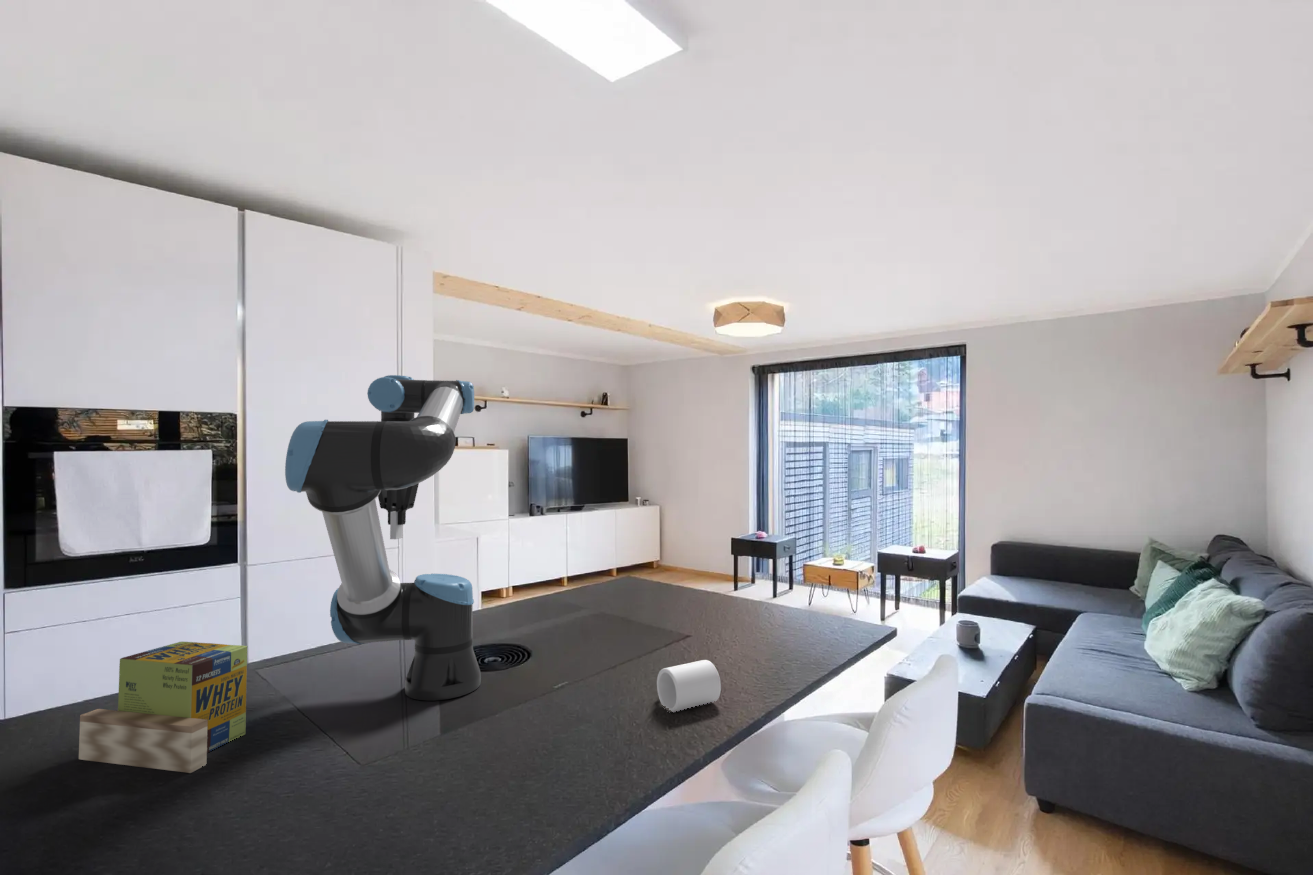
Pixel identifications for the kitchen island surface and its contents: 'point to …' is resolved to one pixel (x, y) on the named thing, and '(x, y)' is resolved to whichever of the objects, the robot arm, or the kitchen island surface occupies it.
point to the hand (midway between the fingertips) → (396, 538)
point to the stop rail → (143, 740)
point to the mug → (688, 685)
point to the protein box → (189, 686)
